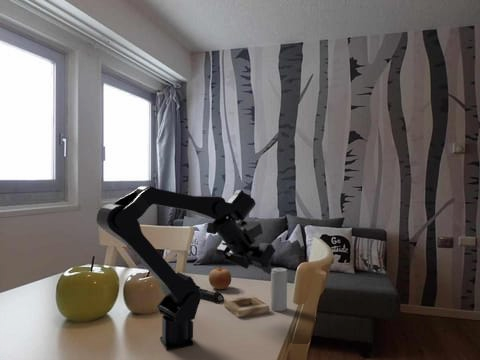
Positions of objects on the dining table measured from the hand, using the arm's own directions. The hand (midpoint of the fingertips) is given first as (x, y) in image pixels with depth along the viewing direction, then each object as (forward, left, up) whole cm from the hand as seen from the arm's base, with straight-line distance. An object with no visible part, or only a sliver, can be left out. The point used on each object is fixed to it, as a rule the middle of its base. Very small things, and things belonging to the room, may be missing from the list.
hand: (258, 270), depth 103 cm
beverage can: (+8, +1, -13) cm, 15 cm away
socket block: (-1, +5, -13) cm, 14 cm away
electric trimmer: (-9, +21, -13) cm, 26 cm away
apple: (0, +27, -13) cm, 30 cm away
